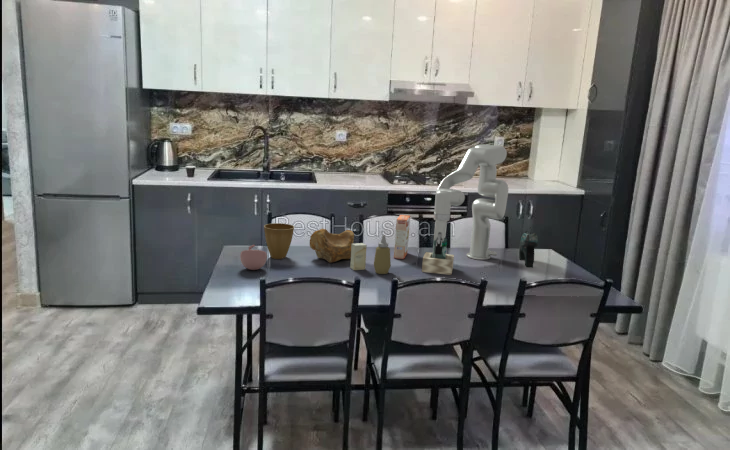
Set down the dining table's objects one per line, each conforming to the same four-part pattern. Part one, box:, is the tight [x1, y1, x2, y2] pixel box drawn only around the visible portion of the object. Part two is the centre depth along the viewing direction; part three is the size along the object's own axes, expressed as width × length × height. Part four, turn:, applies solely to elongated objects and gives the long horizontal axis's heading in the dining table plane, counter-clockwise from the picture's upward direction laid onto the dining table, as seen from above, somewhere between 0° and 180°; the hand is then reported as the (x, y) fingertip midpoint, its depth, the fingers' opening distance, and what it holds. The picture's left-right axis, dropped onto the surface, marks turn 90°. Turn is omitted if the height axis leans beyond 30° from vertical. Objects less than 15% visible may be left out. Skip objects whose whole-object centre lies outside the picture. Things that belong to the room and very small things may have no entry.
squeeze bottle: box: [373, 234, 392, 275], centre depth 255 cm, size 8×8×18 cm
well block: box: [421, 251, 455, 276], centre depth 265 cm, size 14×12×7 cm
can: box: [432, 237, 448, 259], centre depth 265 cm, size 6×6×15 cm
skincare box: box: [349, 242, 368, 271], centre depth 260 cm, size 6×4×12 cm
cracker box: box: [393, 214, 411, 260], centre depth 287 cm, size 14×6×21 cm, turn 168°
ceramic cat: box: [518, 226, 539, 268], centre depth 285 cm, size 20×6×20 cm, turn 177°
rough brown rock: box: [309, 228, 355, 264], centre depth 273 cm, size 23×17×15 cm
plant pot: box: [263, 222, 295, 260], centre depth 273 cm, size 15×15×16 cm
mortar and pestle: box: [239, 244, 268, 271], centre depth 251 cm, size 12×12×12 cm
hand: (439, 251), depth 264 cm, fingers open, 8 cm apart
